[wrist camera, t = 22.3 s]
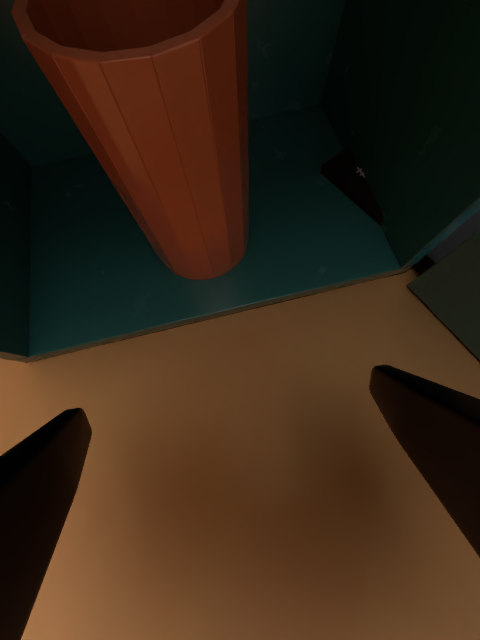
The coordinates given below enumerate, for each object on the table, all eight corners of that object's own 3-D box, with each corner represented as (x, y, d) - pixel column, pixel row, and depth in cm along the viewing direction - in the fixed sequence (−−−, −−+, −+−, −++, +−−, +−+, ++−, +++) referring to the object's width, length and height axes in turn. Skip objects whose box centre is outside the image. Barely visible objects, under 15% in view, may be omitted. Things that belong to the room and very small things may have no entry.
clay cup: (207, 298, 18) (122, 97, 6) (138, 246, 20) (-35, 4, 8) (267, 231, 20) (292, -35, 8) (199, 187, 21) (132, -91, 9)
